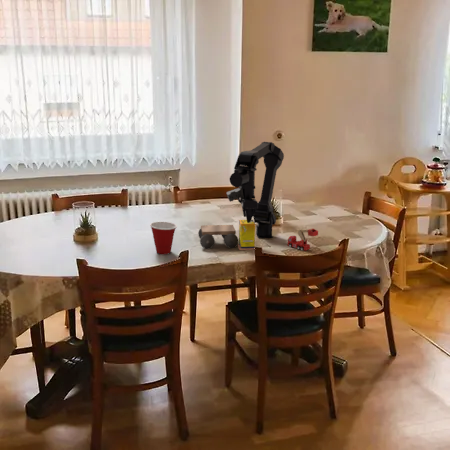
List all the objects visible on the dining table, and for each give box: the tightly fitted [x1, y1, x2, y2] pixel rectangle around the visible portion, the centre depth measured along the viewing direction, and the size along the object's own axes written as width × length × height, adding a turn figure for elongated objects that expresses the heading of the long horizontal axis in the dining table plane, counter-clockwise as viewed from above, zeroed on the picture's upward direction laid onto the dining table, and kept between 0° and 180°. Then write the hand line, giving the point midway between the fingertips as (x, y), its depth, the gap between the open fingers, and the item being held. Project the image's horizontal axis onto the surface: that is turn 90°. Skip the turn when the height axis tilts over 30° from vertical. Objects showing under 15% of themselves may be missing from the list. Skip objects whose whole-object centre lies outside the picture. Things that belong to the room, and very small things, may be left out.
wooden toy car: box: [197, 224, 239, 250], centre depth 233 cm, size 16×13×7 cm
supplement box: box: [238, 219, 256, 249], centre depth 229 cm, size 6×6×11 cm
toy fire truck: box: [287, 228, 319, 252], centre depth 227 cm, size 3×14×10 cm, turn 44°
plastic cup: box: [149, 221, 178, 255], centre depth 221 cm, size 11×11×12 cm
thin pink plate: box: [236, 243, 254, 251], centre depth 230 cm, size 7×7×1 cm
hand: (246, 219), depth 227 cm, fingers open, 9 cm apart
